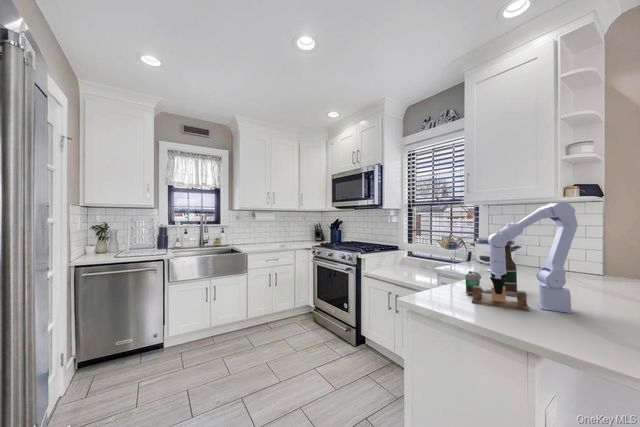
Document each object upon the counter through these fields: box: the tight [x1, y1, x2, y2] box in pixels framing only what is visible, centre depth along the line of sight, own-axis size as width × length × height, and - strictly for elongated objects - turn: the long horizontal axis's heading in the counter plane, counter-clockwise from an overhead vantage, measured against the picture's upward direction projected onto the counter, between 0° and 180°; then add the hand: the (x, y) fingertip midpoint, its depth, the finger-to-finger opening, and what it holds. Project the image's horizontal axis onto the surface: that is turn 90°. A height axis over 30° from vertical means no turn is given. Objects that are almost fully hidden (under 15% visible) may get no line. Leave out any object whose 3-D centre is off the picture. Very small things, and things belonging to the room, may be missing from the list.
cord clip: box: [490, 284, 507, 302], centre depth 113 cm, size 5×5×6 cm
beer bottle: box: [503, 243, 518, 293], centre depth 133 cm, size 8×8×24 cm
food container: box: [464, 270, 482, 296], centre depth 129 cm, size 12×6×10 cm, turn 143°
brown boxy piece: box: [471, 285, 530, 312], centre depth 113 cm, size 20×8×6 cm, turn 55°
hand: (498, 291), depth 113 cm, fingers open, 7 cm apart
